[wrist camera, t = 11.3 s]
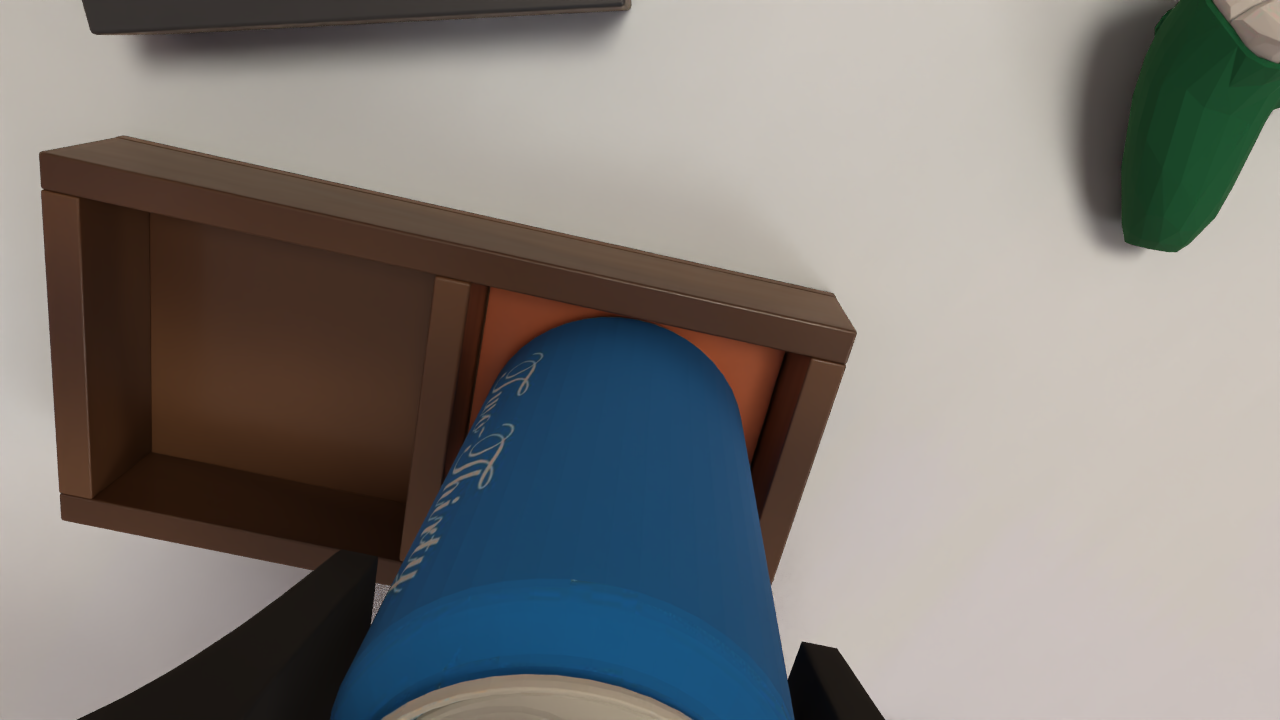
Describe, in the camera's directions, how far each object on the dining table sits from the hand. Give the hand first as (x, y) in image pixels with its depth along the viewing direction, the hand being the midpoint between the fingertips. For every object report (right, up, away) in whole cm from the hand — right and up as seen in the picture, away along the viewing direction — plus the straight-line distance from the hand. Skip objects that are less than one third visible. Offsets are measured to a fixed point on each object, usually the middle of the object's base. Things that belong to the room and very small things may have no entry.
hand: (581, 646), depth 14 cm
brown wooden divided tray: (-4, +4, +8) cm, 10 cm away
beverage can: (0, +3, +8) cm, 8 cm away
